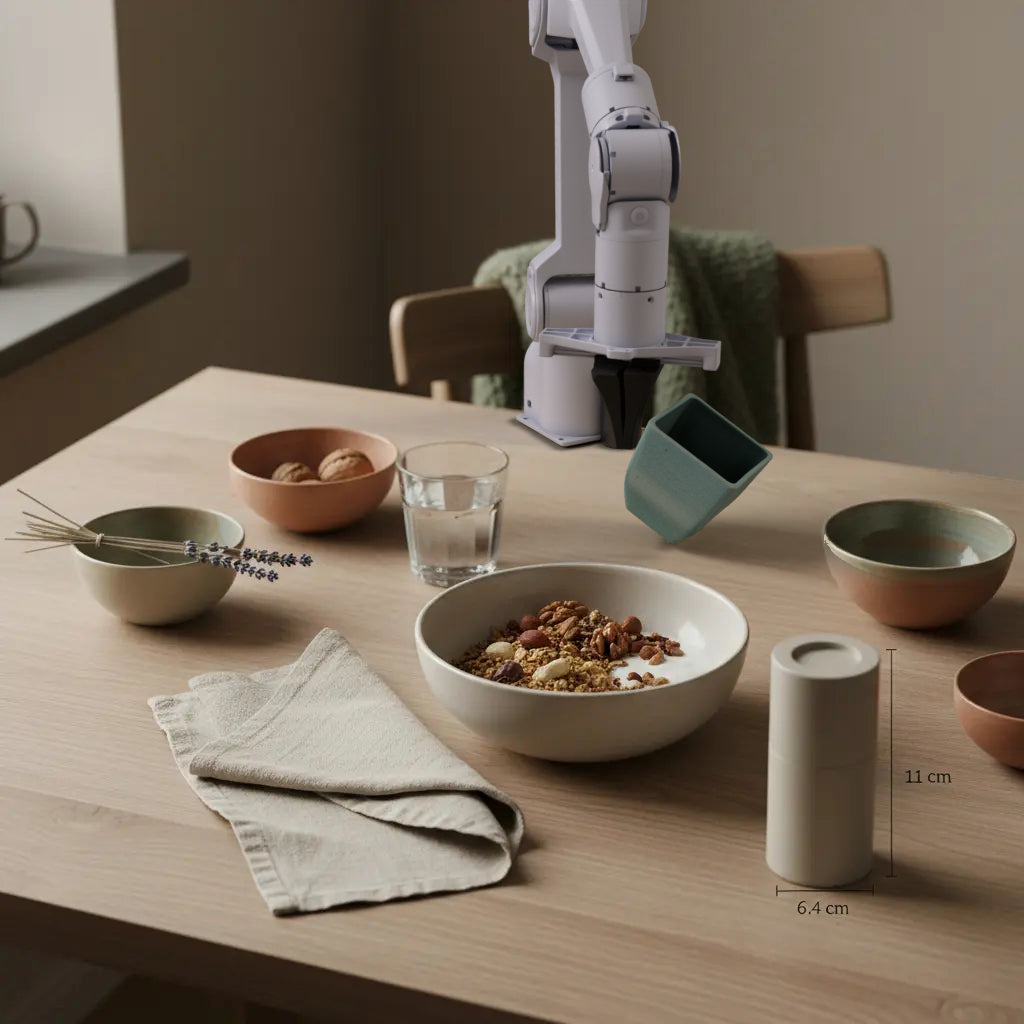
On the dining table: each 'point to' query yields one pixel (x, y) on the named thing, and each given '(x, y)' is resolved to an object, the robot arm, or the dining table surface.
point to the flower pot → (689, 468)
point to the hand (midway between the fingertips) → (626, 445)
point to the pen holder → (607, 429)
